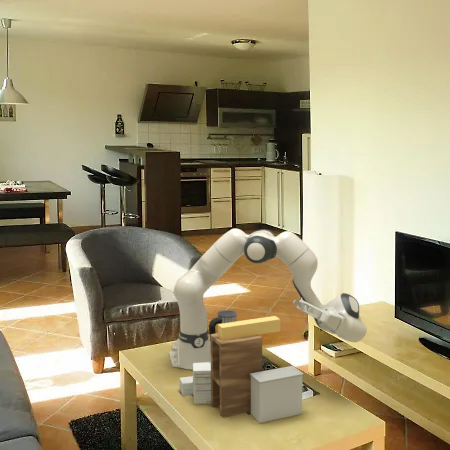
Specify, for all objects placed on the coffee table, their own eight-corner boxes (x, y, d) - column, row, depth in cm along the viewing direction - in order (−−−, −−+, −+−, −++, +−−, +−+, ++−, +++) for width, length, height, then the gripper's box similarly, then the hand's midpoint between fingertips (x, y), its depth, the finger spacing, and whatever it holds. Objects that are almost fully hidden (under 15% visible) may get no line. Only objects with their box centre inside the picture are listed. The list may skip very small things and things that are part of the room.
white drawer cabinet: (193, 395, 216) (192, 362, 214) (213, 394, 217) (213, 361, 215) (193, 404, 209) (192, 370, 207) (214, 403, 209) (213, 370, 207)
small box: (197, 394, 217) (197, 381, 216) (182, 396, 215) (182, 383, 215) (194, 387, 222) (193, 375, 222) (179, 389, 221) (178, 377, 220)
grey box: (249, 413, 202) (249, 373, 200) (292, 404, 208) (292, 365, 206) (259, 423, 195) (259, 382, 193) (302, 413, 202) (303, 373, 199)
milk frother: (224, 339, 272) (224, 308, 269) (253, 346, 263) (253, 314, 260) (206, 349, 260) (205, 316, 258) (235, 357, 251) (235, 323, 249)
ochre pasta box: (217, 336, 202) (217, 324, 201) (275, 327, 210) (275, 315, 210) (222, 340, 198) (221, 327, 198) (280, 331, 207) (280, 319, 206)
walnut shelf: (211, 404, 209) (210, 334, 204) (249, 397, 214) (249, 328, 210) (222, 417, 200) (221, 344, 195) (261, 409, 205) (262, 337, 201)
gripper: (318, 304, 226) (290, 290, 220) (349, 319, 208) (320, 305, 202) (311, 319, 226) (283, 305, 220) (341, 335, 207) (312, 321, 202)
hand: (301, 305), depth 211 cm, fingers open, 8 cm apart
